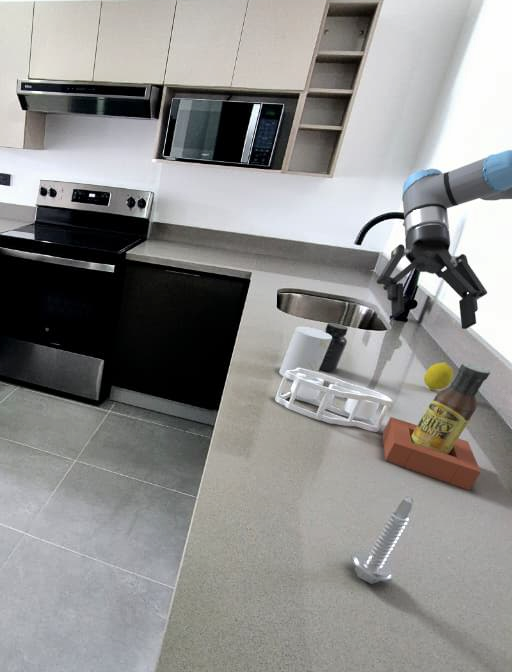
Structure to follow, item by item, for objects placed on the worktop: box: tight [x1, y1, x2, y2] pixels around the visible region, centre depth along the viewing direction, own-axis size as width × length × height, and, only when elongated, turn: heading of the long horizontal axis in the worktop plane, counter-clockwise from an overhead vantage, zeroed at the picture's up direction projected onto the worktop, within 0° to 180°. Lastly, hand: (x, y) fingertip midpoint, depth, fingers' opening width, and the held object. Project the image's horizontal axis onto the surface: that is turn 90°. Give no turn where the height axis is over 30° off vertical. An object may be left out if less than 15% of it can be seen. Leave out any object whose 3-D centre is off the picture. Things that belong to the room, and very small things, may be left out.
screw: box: [350, 496, 415, 585], centre depth 63 cm, size 13×5×5 cm
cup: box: [279, 326, 332, 382], centre depth 124 cm, size 8×8×12 cm
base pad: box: [382, 416, 482, 491], centre depth 95 cm, size 13×13×4 cm
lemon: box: [423, 362, 454, 391], centre depth 130 cm, size 6×6×8 cm
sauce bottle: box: [411, 362, 491, 454], centre depth 92 cm, size 6×6×20 cm
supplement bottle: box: [319, 322, 349, 373], centre depth 134 cm, size 7×7×12 cm
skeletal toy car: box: [274, 368, 394, 433], centre depth 108 cm, size 20×11×7 cm, turn 53°
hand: (433, 320), depth 101 cm, fingers open, 13 cm apart
